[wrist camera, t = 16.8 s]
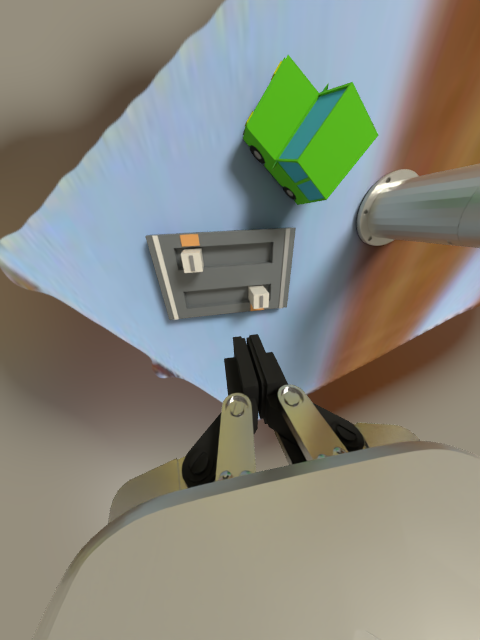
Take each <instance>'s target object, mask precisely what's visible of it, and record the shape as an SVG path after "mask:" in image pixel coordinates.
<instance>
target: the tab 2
mask: <svg viewBox="0 0 480 640" xmlns="http://www.w3.org/2000/svg"><path fill="white" fill-rule="evenodd" d="M248 299H249V301H250V303H251V305H252V307H253V309H259V308H268V307H269V292H268V291H267V290H266V289H265V288H264V286H263V285H252V286H248Z"/></svg>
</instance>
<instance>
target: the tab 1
mask: <svg viewBox="0 0 480 640" xmlns="http://www.w3.org/2000/svg"><path fill="white" fill-rule="evenodd" d="M181 258H182V263H183V268H184V273H193V272H203V267H204V263H203V256H202V249H201V248H194V249H184V250H183V252H182V253H181Z"/></svg>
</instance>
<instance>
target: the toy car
mask: <svg viewBox="0 0 480 640" xmlns="http://www.w3.org/2000/svg"><path fill="white" fill-rule="evenodd" d="M328 84H329V83H328ZM328 84H327V86H326V87H325V88H324V90H323V91H322V92H321V93H318V91H317V90H316V89H315V88H314V86H313V85H312V84H311V83H310V81H309V80H308V79H307V78H306V76H305V75H304V74H303V73H302V71H301V70H300V69H299V68H298V66H297V65H296V64H295V63H294V61H293V60H292V59H291V58H290V56H289V55H288V56H287V58H286V59H285V57H284V59H283V61H281V62H280V63H279V65H278V67H277V69H276V70H275V72H274V74H273V76H272V79H271V82H270V84H269V86H268V87H267V89H266V91H265V93H264V94H263V96H262V98H261V100H260V101H259V103H258V105H257V107H256V109H255V110H254V112H253V111H252V113H251V115H250V116H249V118H248V120H247V122H246V124H245V126H246V127H245V129H244V133H243V135H244V136H243V139H244V141H245V142H246V143H247V144H248V146H249V147H250V150H251V152H252V154H253V155H254V157H255V158H256V159H257V160H258V161H259V162H261V163H262V164H264V163H265V164H264V166H265V167H266V169H267V170H268V171H269V172H270V173H271V174H272V176H273V177H274V178H275V179H276V180H277V181H278V183H279V184H280V185H281V186H282V187H283V186H284V187H283V189H284V191H285V193H286V194H287V195H288V196H289V197H290V198H292V199H295V200H294V201H295V202H296V204H297V205H299V204H305V203H311V202H317V201H322V200H327V198H328V197H329V196H330V195H331V194H332V192H333V191H334V190H335V189H336V187H337V186H338V185H339V184H340V182H341V181H342V180H343V179H344V177H345V176H346V175H347V174H348V172H349V171H350V170H351V169H352V167H353V166H354V165H355V164H356V162H357V161H358V160H359V159H360V157H361V156H362V155H363V154H364V152H365V151H366V150H367V149H368V148H369V146H370V145H371V144H372V143H373V141H374V140H375V139H376V138H377V136H378V133H377V131H376V129H375V127H374V125H373V123H372V121H371V119H370V117H369V115H368V113H367V111H366V109H365V107H364V105H363V103H362V101H361V99H360V96H359V94H358V92H357V90H356V88H355V86H354V84H353V82H351V83H348V84H345V85H342V86H339V87H336V88H333V89H330V90H327V89H328ZM250 145H251V146H250Z"/></svg>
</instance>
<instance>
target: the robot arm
mask: <svg viewBox="0 0 480 640" xmlns="http://www.w3.org/2000/svg"><path fill="white" fill-rule="evenodd" d="M357 230H358V234H359V236H360V238H361V239H362V241H363V242H365V243H366V244H369V245H374V246H380V245H384V244H387V243H389V242H392V241H393V240H395V239H397V240H407V241H416V242H426V243H436V244H445V245H455V246H465V247H474V248H480V164H476V165H471V166H466V167H462V168H457V169H452V170H447V171H442V172H438V173H433V174H428V175H423V176H418V175H417V174H416V172H414V171H412V170H408V169H402V170H397V171H394V172H391V173H389V174H387V175H385V176H384V177H382V178H381V179H380V180H378V181H377V182H376V183H375V184H374V185H373V186H372V188H371V189H370V190H369V192H368V193H367V195H366V196H365V198H364V200H363V202H362V204H361V206H360V209H359V213H358V217H357ZM233 345H234V357H233V358H225V359H224V362H225V371H226V380H227V389H228V397H226V398H225V400H224V401H223V404H222V412H221V413H220V415H219V416H218V417H217V418H216V419H215V421H214V422H213V423H212V424H211V425H210V427H209V428H208V429H207V430H206V431H205V433H204V434H203V435H202V436H201V438H200V439H199V440H198V441H197V442H196V444H195V445H194V446H193V447H192V448H191V450H190V451H189V452H188V453H187V455H186V456H185V457H183V458H180V459H178V460H177V458H176V459H174V460H172V461H169V462H167V463H165V464H163V465H161V466H159V467H157V468H154V469H152V470H150V471H148V472H146V473H144V474H142V475H139V476H137V477H135V478H133V479H131V480H129V481H128V482H126V483H125V484H124V485H123V486H122V487H121V488H120V489H119V490H118V492H117V494H116V495H115V497H114V499H113V502H112V505H111V508H110V515H109V521H108V525H106V526H105V527H104V528H103V529H102V530H100V531H99V532H98V533H97V534H96V535H95V536H94V537H93V538H91V539H90V540H89V542H88V543H87V544H86V545H85V546H84V547H83V548H82V549H81V550H80V551H79V553H78V554H77V555H76V557H75V558H74V560H73V561H72V563H71V564H70V565H69V567H68V569H67V570H66V572H65V574H64V576H63V577H62V579H61V581H60V583H59V585H58V586H57V588H56V590H55V592H54V594H53V596H52V598H51V600H50V602H49V604H48V606H47V608H46V610H45V612H44V614H43V616H42V619H41V621H40V623H39V625H38V627H37V629H36V631H35V634H34V636H33V638H32V640H480V457H479V456H477V455H475V454H473V453H471V452H469V451H466V450H463V449H460V448H457V447H454V446H450V445H446V444H442V443H436V442H430V441H420V440H419V439H418V437H417V436H416V435H415V434H414V433H412V432H411V431H410V430H408V429H406V428H404V427H402V426H398V425H390V424H389V425H388V424H375V423H374V424H373V423H358V422H357V423H356V424H352V423H350V422H349V421H347V420H345V419H343V418H341V417H339V416H337V415H335V414H333V413H331V412H329V411H327V410H326V409H324V408H321V407H320V406H318V405H316V404H314V403H312V402H311V400H310V399H309V398H308V396H307V395H306V394H305V392H304V391H303V390H302V389H301V388H299V387H297V386H295V385H289V384H288V383H287V381H286V379H285V377H284V375H283V373H282V371H281V368H280V366H279V364H278V362H277V360H276V358H275V356H274V354H273V353H272V352H269V353H266V352H265V350H264V347H263V345H262V343H261V340H260V338H259V336H258V334H256V335H250V336H249V338H247V344H246V341H245V338H242V337H241V336H240V337H233ZM258 412H259V416H260V419H262V418H263V419H264V422H265V424H268V425H269V427H270V428H272V429H273V430H274V432H275V435H276V437H277V439H278V442H279V444H280V446H281V448H282V450H283V453H284V455H285V457H286V459H287V461H288V463H289V465H288V466H284V467H279V468H275V469H270V470H265V471H261V472H256V463H255V449H254V434H255V432H256V430H257V424H258Z"/></svg>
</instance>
